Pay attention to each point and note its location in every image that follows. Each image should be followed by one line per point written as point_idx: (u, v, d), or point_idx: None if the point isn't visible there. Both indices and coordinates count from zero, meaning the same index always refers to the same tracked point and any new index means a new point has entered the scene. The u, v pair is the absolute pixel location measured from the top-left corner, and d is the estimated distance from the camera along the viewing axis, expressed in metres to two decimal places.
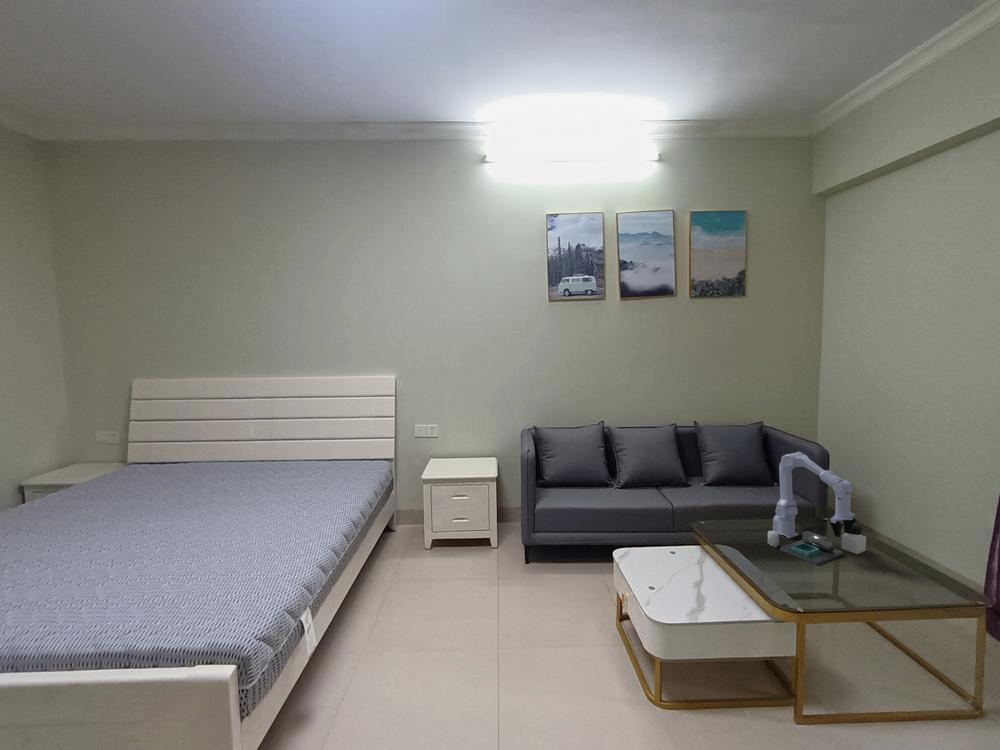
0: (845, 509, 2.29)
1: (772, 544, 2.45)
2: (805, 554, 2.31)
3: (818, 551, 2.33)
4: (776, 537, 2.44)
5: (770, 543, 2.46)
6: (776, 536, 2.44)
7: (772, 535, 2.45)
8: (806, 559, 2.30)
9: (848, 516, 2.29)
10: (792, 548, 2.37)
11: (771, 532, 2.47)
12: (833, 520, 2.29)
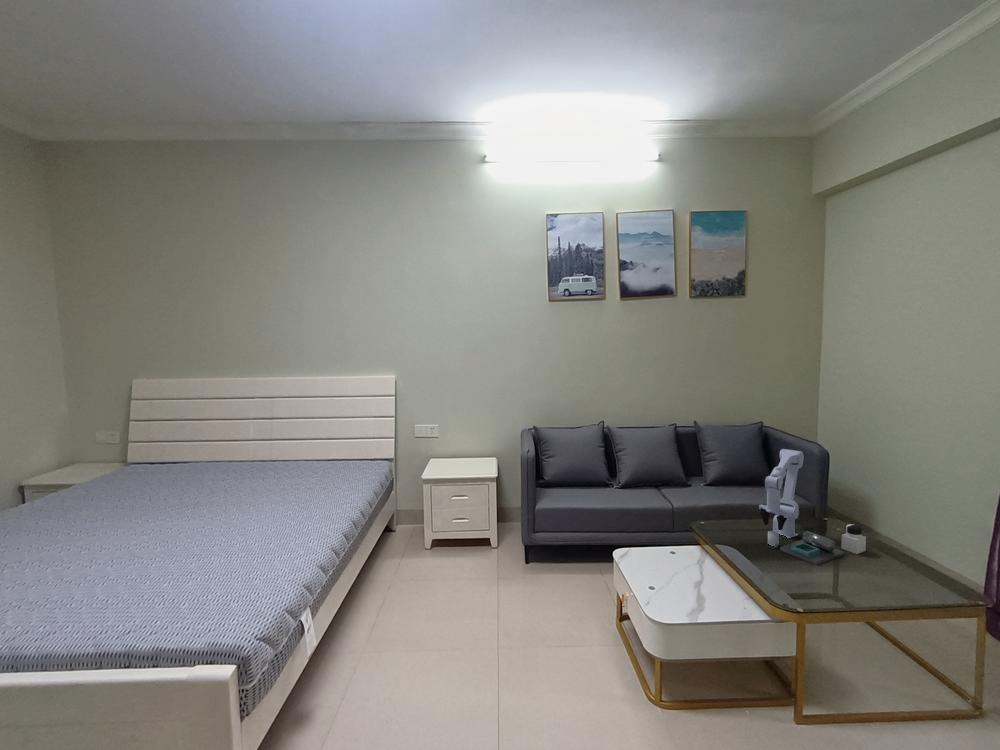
0: (767, 500, 2.46)
1: (772, 544, 2.45)
2: (805, 554, 2.31)
3: (818, 551, 2.33)
4: (776, 537, 2.44)
5: (770, 543, 2.46)
6: (776, 536, 2.44)
7: (772, 535, 2.45)
8: (806, 559, 2.30)
9: (768, 508, 2.45)
10: (792, 548, 2.37)
11: (771, 532, 2.47)
12: None
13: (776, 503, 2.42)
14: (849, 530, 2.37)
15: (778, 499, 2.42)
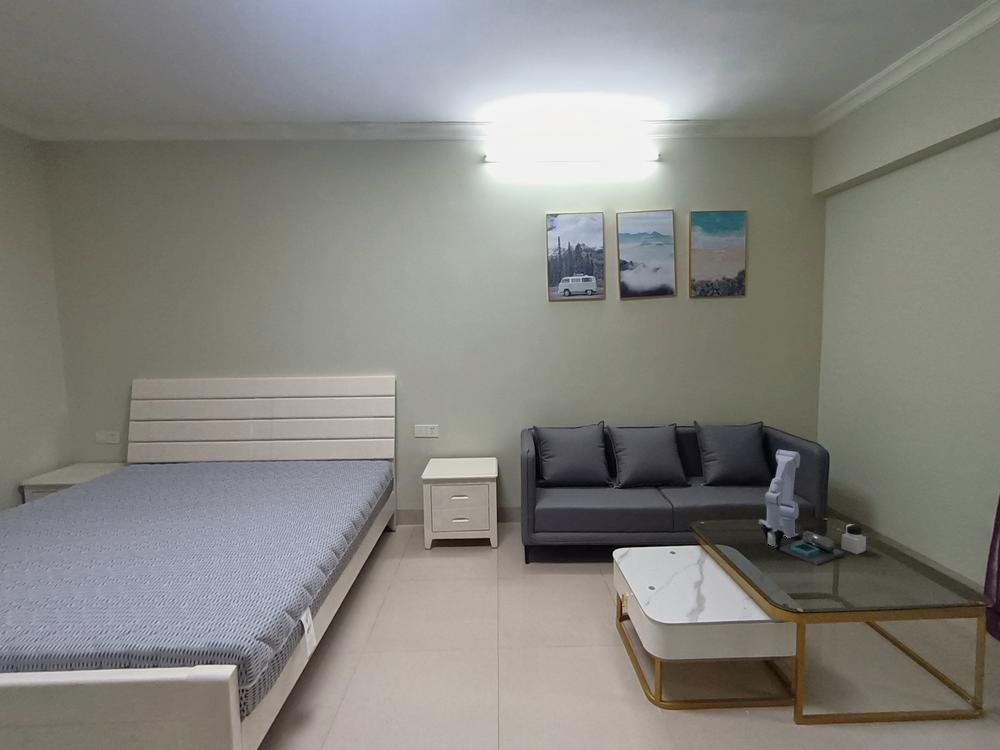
0: (767, 516, 2.47)
1: (772, 544, 2.45)
2: (805, 554, 2.31)
3: (818, 551, 2.33)
4: None
5: (770, 543, 2.46)
6: None
7: (772, 535, 2.45)
8: (806, 559, 2.30)
9: (768, 524, 2.45)
10: (792, 548, 2.37)
11: (771, 532, 2.47)
12: None
13: (776, 519, 2.43)
14: (849, 530, 2.37)
15: (778, 515, 2.43)
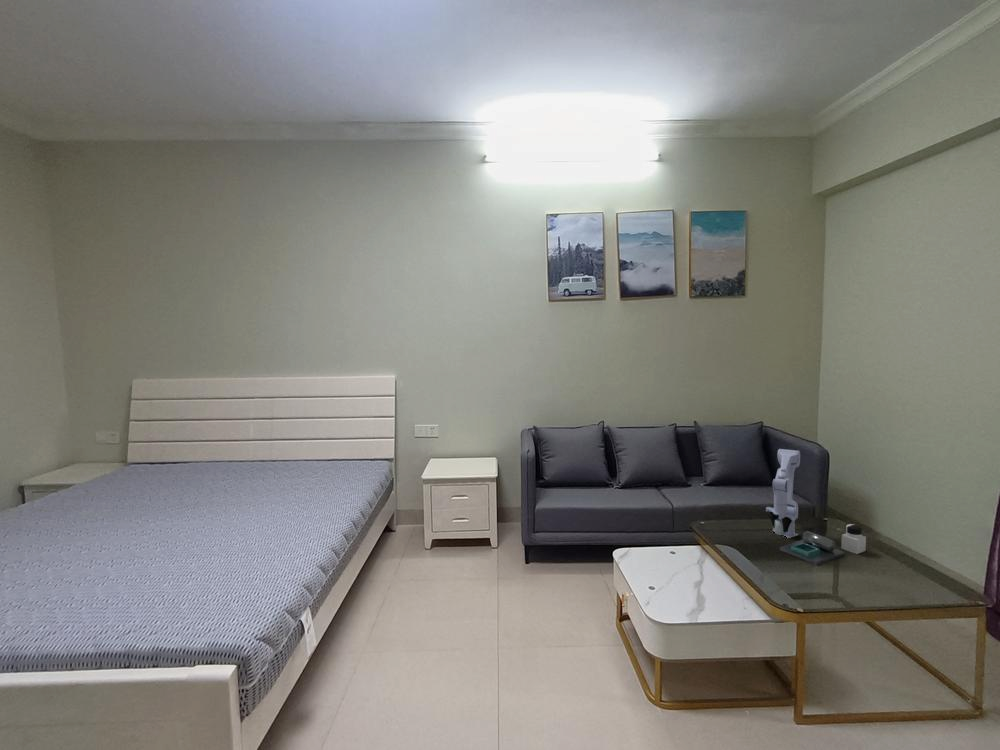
0: (774, 503, 2.43)
1: (779, 532, 2.42)
2: (805, 554, 2.31)
3: (818, 551, 2.33)
4: None
5: (777, 531, 2.43)
6: None
7: (779, 523, 2.41)
8: (806, 559, 2.30)
9: (775, 511, 2.42)
10: (792, 548, 2.37)
11: (778, 520, 2.44)
12: None
13: (783, 506, 2.40)
14: (849, 530, 2.37)
15: (786, 501, 2.40)
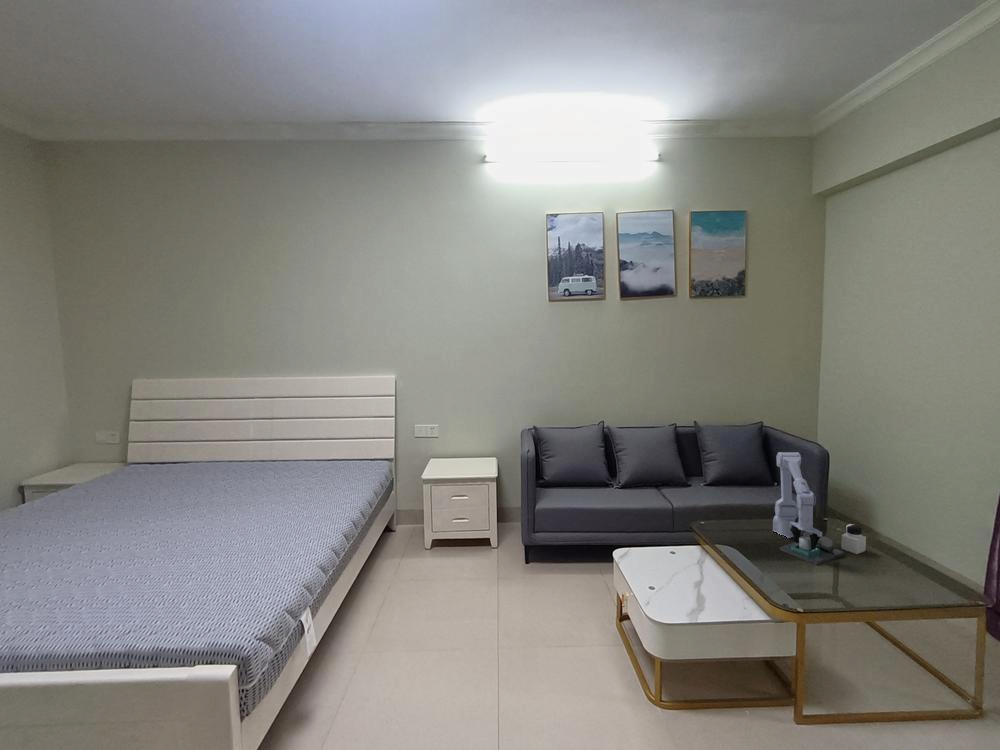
0: (799, 518, 2.35)
1: (804, 550, 2.34)
2: (805, 554, 2.31)
3: (818, 551, 2.33)
4: (808, 543, 2.33)
5: None
6: (808, 542, 2.33)
7: (804, 541, 2.33)
8: (806, 559, 2.30)
9: (800, 526, 2.34)
10: (792, 548, 2.37)
11: (803, 538, 2.36)
12: None
13: (809, 521, 2.32)
14: (849, 530, 2.37)
15: (812, 516, 2.33)
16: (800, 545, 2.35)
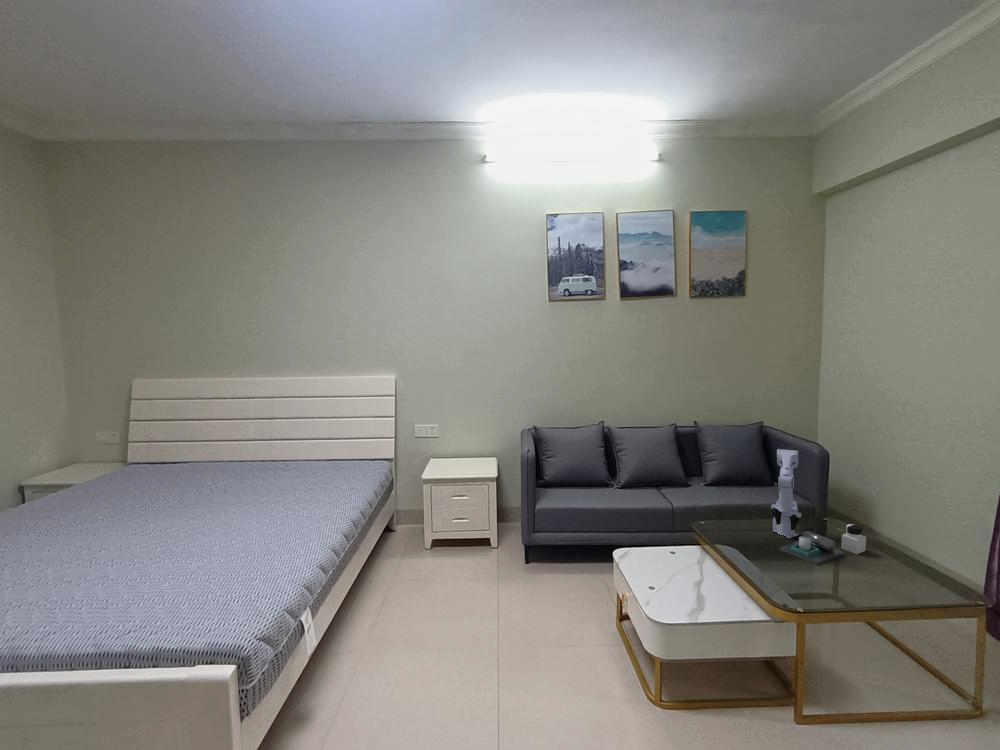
0: (779, 500, 2.45)
1: (804, 550, 2.34)
2: (805, 554, 2.31)
3: (818, 551, 2.33)
4: (808, 543, 2.33)
5: None
6: (808, 542, 2.33)
7: (804, 541, 2.33)
8: (806, 559, 2.30)
9: (781, 508, 2.44)
10: (792, 548, 2.37)
11: (803, 538, 2.36)
12: None
13: (789, 503, 2.42)
14: (849, 530, 2.37)
15: (792, 498, 2.42)
16: (800, 545, 2.35)
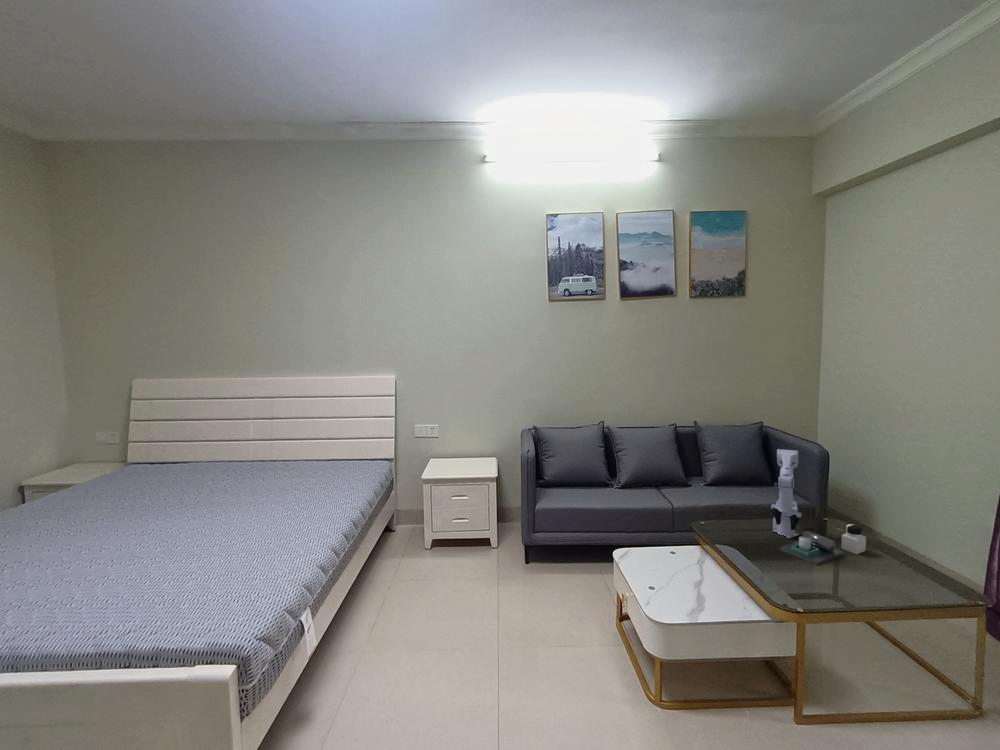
0: (779, 500, 2.45)
1: (804, 550, 2.34)
2: (805, 554, 2.31)
3: (818, 551, 2.33)
4: (808, 543, 2.33)
5: None
6: (808, 542, 2.33)
7: (804, 541, 2.33)
8: (806, 559, 2.30)
9: (781, 508, 2.44)
10: (792, 548, 2.37)
11: (803, 538, 2.36)
12: None
13: (789, 503, 2.42)
14: (849, 530, 2.37)
15: (792, 498, 2.42)
16: (800, 545, 2.35)
